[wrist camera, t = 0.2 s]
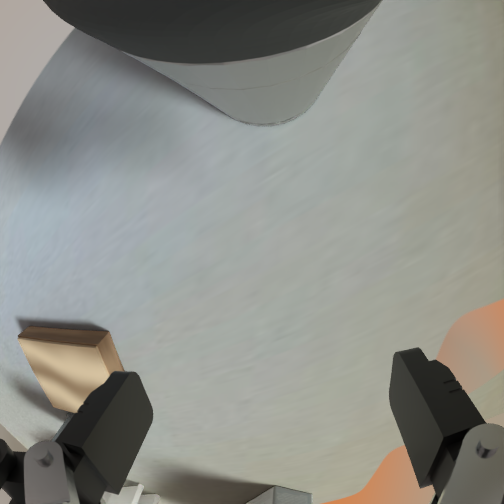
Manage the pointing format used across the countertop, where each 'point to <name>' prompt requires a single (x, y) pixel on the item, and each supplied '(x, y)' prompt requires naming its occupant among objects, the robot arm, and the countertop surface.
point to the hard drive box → (282, 497)
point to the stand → (69, 362)
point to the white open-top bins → (131, 496)
